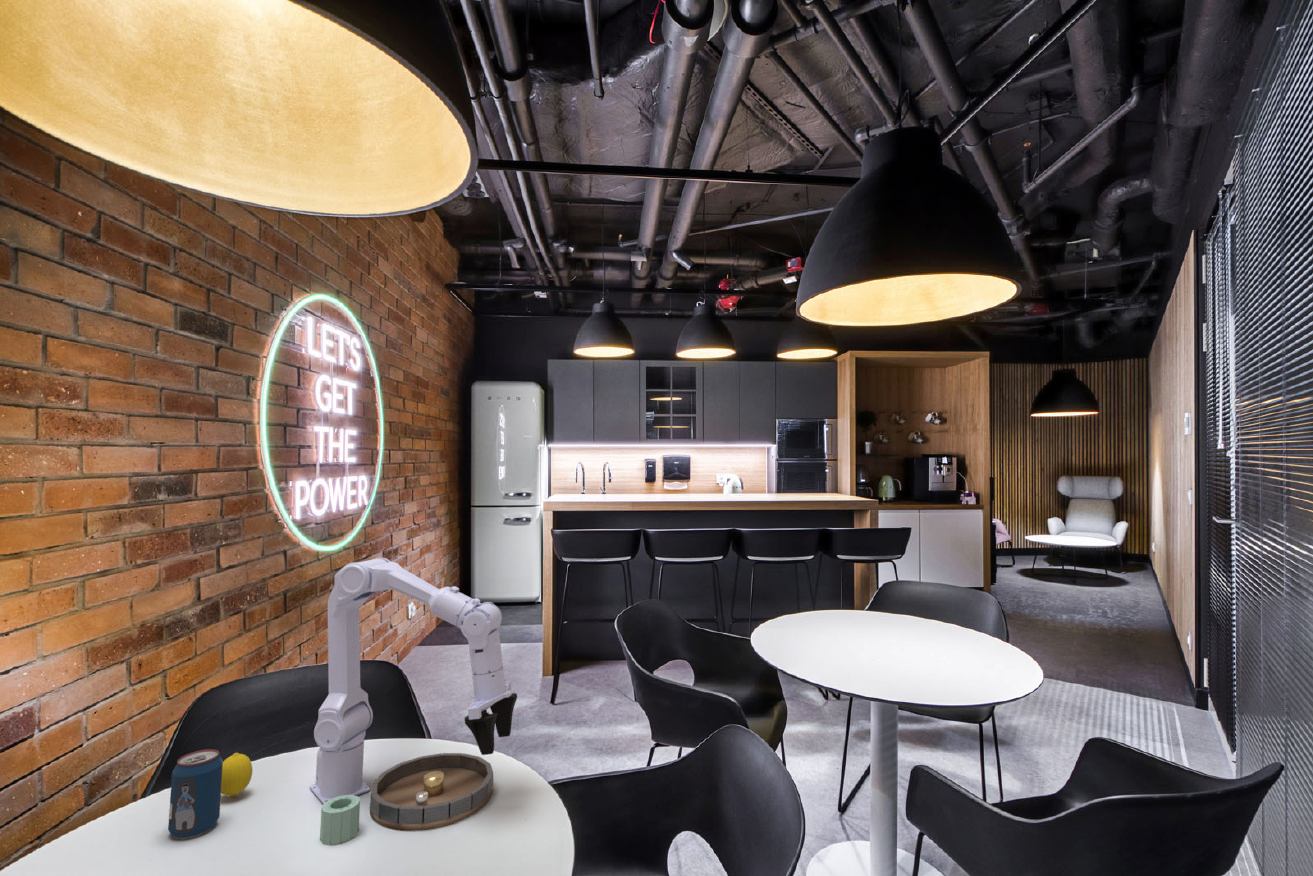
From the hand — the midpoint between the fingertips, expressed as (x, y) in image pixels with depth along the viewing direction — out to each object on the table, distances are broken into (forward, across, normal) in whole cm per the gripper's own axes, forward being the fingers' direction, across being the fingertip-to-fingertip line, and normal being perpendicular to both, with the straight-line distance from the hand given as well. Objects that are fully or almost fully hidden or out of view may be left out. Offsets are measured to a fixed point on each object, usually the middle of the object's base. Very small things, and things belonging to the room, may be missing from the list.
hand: (496, 744), depth 111 cm
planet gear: (+7, -14, +23) cm, 28 cm away
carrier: (+8, 0, +14) cm, 16 cm away
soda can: (+3, -16, +48) cm, 51 cm away
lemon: (+3, -6, +50) cm, 51 cm away
